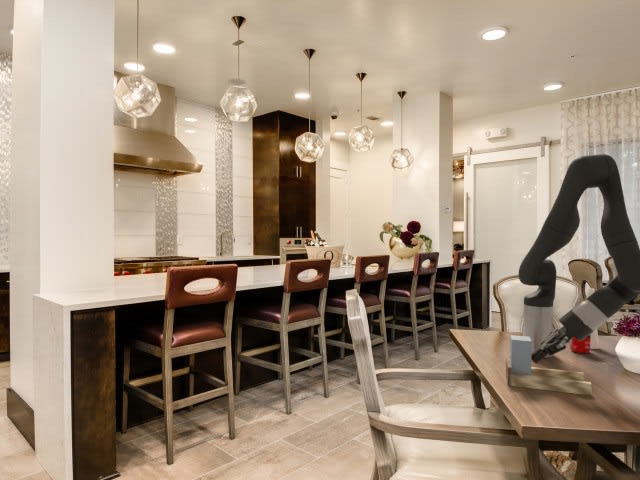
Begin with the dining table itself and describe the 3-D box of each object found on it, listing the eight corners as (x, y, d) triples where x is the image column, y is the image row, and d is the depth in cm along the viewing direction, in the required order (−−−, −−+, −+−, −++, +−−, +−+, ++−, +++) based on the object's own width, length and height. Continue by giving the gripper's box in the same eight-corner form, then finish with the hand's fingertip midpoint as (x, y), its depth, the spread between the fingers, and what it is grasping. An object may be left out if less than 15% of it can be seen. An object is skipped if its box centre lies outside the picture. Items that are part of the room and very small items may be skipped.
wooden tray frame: (583, 382, 123) (583, 365, 123) (591, 395, 114) (591, 376, 114) (505, 374, 130) (506, 357, 130) (507, 385, 121) (507, 367, 121)
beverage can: (573, 353, 156) (573, 319, 156) (567, 348, 162) (568, 316, 162) (592, 354, 154) (593, 320, 154) (586, 350, 160) (587, 317, 160)
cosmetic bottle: (594, 349, 161) (595, 289, 161) (577, 346, 166) (578, 288, 166) (602, 347, 164) (603, 289, 164) (585, 344, 169) (586, 287, 169)
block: (528, 374, 126) (529, 336, 126) (531, 381, 121) (531, 341, 121) (509, 372, 128) (510, 335, 128) (511, 379, 122) (511, 339, 122)
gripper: (567, 305, 126) (520, 344, 130) (576, 313, 114) (524, 355, 118) (588, 325, 124) (540, 364, 129) (600, 335, 112) (545, 377, 116)
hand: (532, 360), depth 123 cm, fingers closed
